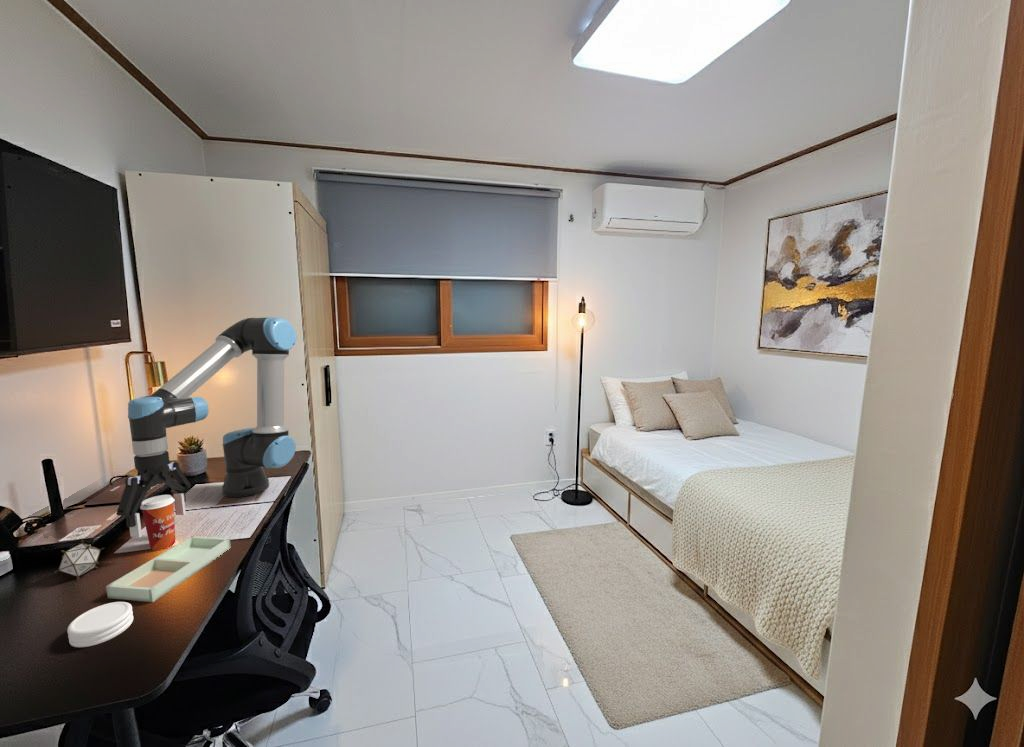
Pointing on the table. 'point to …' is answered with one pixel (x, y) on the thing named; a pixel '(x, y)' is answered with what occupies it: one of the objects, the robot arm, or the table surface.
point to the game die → (79, 559)
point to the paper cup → (159, 521)
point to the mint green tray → (168, 569)
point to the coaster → (100, 624)
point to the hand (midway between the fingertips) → (159, 525)
